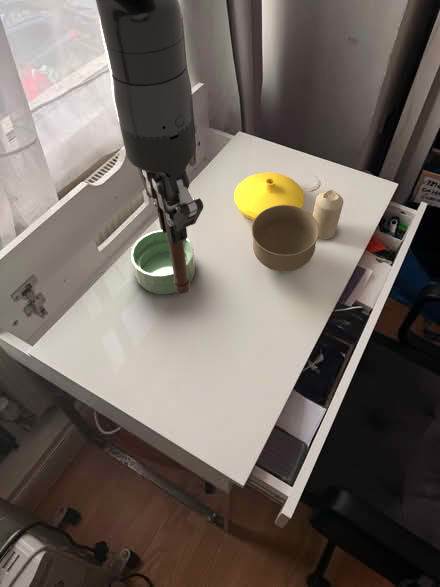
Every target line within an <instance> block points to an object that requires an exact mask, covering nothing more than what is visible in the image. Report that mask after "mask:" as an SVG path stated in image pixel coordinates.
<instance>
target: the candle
mask: <svg viewBox="0 0 440 587" xmlns="http://www.w3.org/2000/svg"><path fill="white" fill-rule="evenodd" d="M343 205H344V199H343V197H342V195H340V194H339V193H337V192H336V191H335V190H334V189H330V190H326V191H322V192H320V193H318V195H316V197H315V202H314V207H313V212H312V216H313V217H314V218H315V219H316V221H317V223H318V226H319V236H318V240H329V239H331V238H333V237H334V236H335V234H336V233H337V232H336V231H337V228H338V224H339V221H340V218H341V213H342V209H343V207H344V206H343Z"/></svg>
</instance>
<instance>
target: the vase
mask: <svg viewBox="0 0 440 587" xmlns="http://www.w3.org/2000/svg"><path fill="white" fill-rule="evenodd" d="M233 193H234V194H233V199H234V203H235V205H236V207H237V209H238V211H239V212H240V213H242V215H243V216H245V217H246V218H248V219H250V220H251V221H254V220H255V218H256V217H257V216H258V215H259V214H260V213H261V212H262V211H264V210H266V209H268V208H270V207H273V206H278V205H292V206H296V207H299V208H302V207H303V206H304V203H305V193H304V190H303V188H302V187H301V186H300V185H299V183H298V182H296V181H295V180H294V179H293V178H291V177H289V176H287V175H285V174H282V173H277V172H270V171H268V172H259V173H255V174H251V175H250V176H248V177H246V178H245V179H243V180H242V181H241V182H239V183H238V185H237V186H236V188H235V189H234V192H233Z"/></svg>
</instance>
